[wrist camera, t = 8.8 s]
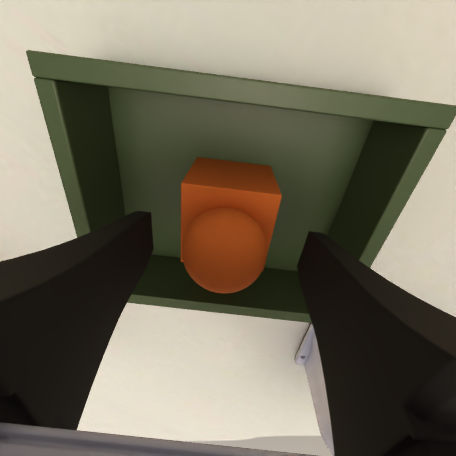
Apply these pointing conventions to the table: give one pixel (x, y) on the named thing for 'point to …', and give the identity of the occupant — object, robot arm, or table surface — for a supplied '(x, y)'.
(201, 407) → the table surface
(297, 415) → the table surface
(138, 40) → the table surface
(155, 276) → the bin
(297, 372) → the table surface
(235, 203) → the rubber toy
